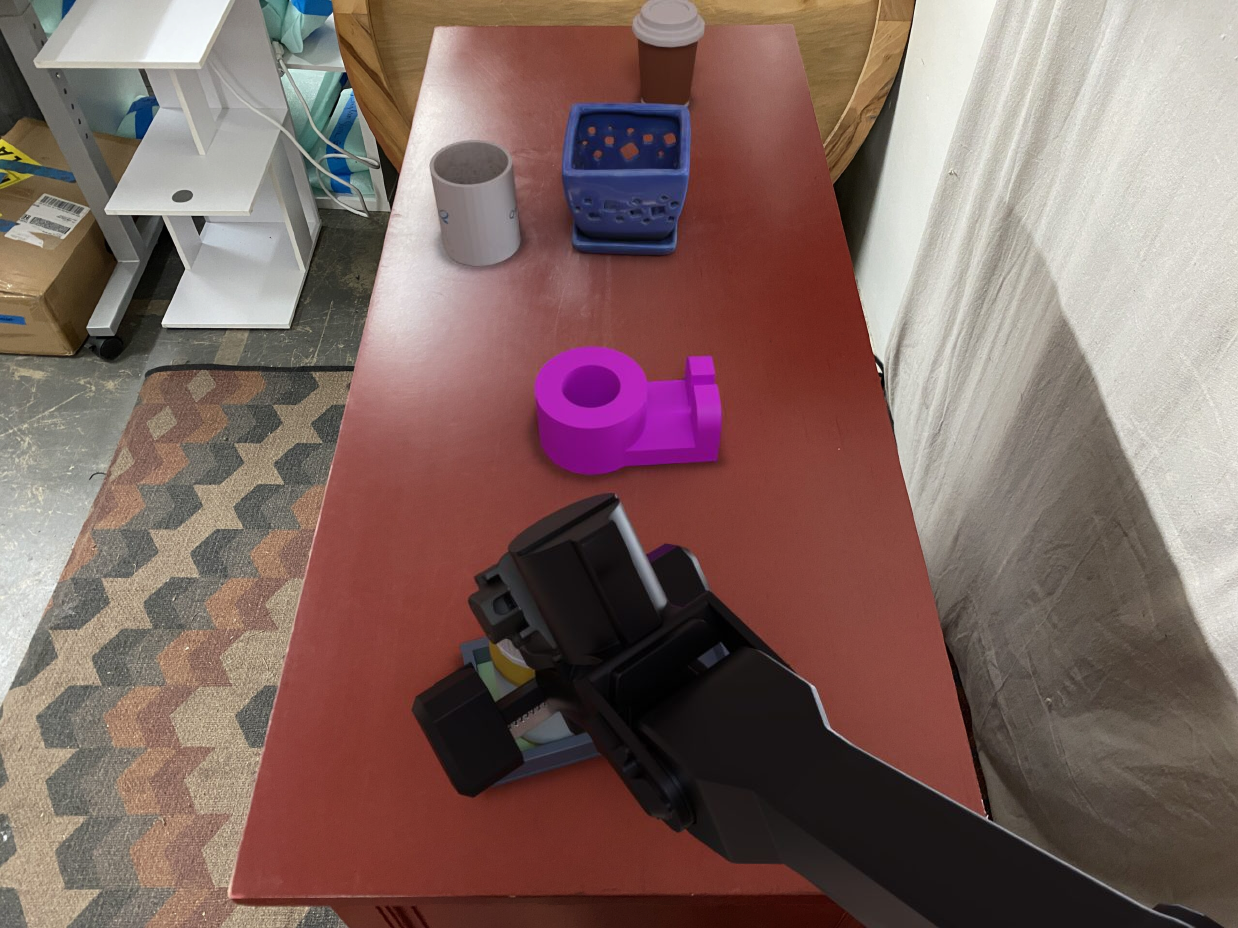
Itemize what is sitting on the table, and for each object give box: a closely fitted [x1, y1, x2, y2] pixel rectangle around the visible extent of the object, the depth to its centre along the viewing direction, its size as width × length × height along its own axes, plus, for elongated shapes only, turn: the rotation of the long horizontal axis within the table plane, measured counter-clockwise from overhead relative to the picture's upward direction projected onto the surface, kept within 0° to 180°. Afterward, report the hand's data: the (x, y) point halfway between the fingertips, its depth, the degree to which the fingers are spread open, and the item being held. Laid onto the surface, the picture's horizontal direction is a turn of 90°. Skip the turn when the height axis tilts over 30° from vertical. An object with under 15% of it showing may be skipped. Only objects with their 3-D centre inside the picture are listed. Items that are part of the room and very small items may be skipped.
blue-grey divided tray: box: [459, 636, 729, 788], centre depth 68 cm, size 10×19×3 cm, turn 107°
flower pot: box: [561, 102, 692, 256], centre depth 100 cm, size 13×13×12 cm
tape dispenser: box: [534, 346, 723, 476], centre depth 83 cm, size 16×10×6 cm, turn 94°
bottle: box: [489, 639, 586, 746], centre depth 62 cm, size 7×7×15 cm
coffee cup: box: [631, 0, 706, 108], centre depth 117 cm, size 9×9×12 cm
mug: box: [428, 139, 522, 267], centre depth 100 cm, size 12×9×10 cm
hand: (530, 638), depth 62 cm, fingers open, 9 cm apart
